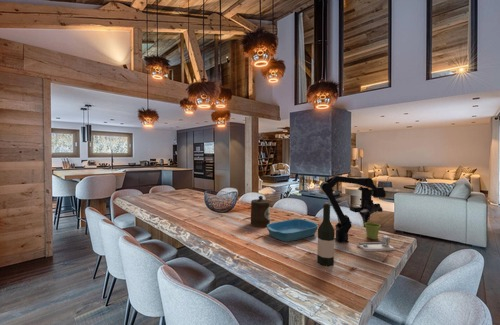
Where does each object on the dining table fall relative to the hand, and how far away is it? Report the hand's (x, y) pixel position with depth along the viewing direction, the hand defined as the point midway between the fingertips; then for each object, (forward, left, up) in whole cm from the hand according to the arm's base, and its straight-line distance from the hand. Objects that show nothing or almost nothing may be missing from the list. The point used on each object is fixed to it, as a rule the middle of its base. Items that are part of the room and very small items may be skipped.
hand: (365, 222), depth 146 cm
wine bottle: (-38, -25, -12) cm, 47 cm away
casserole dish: (-42, +17, -12) cm, 47 cm away
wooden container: (-59, +42, -12) cm, 74 cm away
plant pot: (+9, +6, -12) cm, 16 cm away
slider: (+6, -10, -11) cm, 16 cm away
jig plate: (0, -10, -12) cm, 16 cm away
